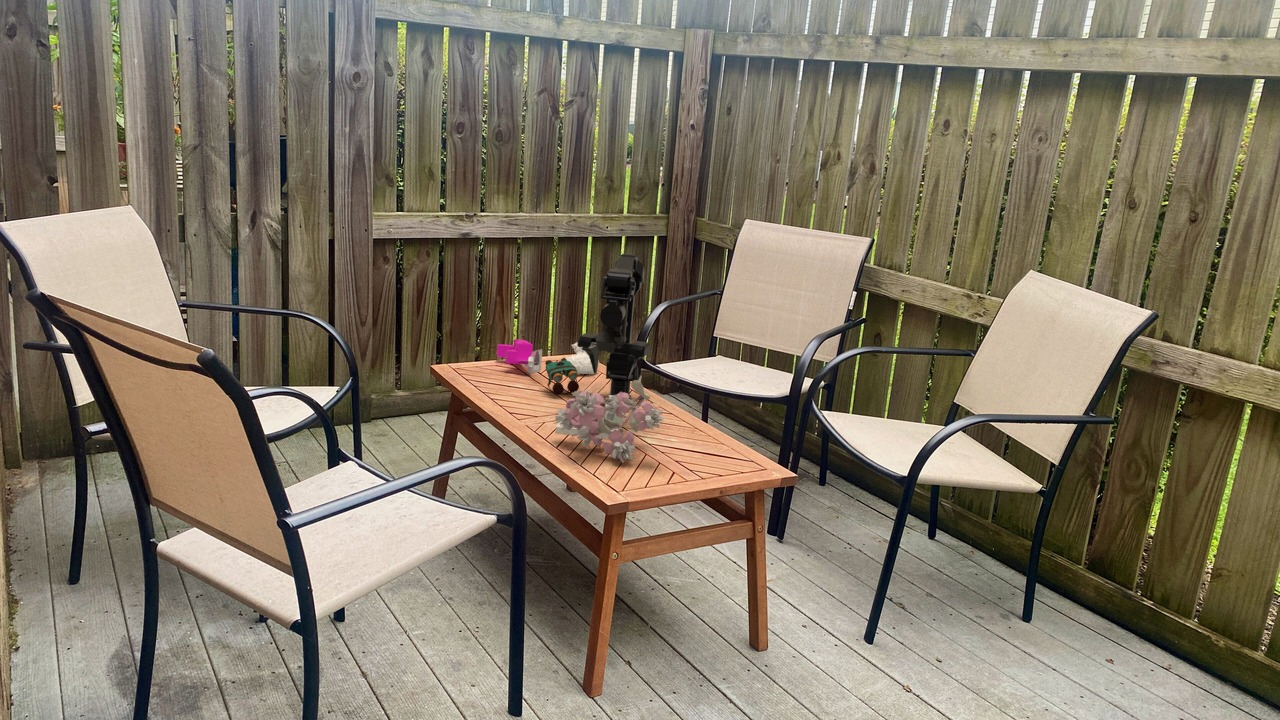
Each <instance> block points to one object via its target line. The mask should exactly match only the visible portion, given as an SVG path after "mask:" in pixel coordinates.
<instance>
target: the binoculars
mask: <svg viewBox="0 0 1280 720" xmlns="http://www.w3.org/2000/svg"><path fill="white" fill-rule="evenodd" d="M566 358H567V357H563V358H561V359H560V360H559V361H552V359H551V360H550V359H547V360H546V361H545V363H544V364H545V372H546V374H547V377H548V383H547V387H548V389H549V390H550V392H551V393H552V394H554V395H556V396H560V395H564V396H565V395H566V396H568V395H570V394H573V393H574V392H575V391H576V392H578V391H579V389H580V384H579V383H578V377H579V375H578V374H577V369H576V367H574V366H573V364H572V363H571V362H570V361H567V360H566ZM563 376H565V377H566V378H568V379H569V381H568V384H567V387H566V388H567V390H568V392H565V387H564V385H563V384H562V383H561V382H562V381H563ZM552 381H553V382H555V383H554V384H553V385H552V390H551V388H550V385H551V384H552Z"/></svg>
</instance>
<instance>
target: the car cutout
mask: <svg viewBox="0 0 1280 720" xmlns="http://www.w3.org/2000/svg"><path fill="white" fill-rule="evenodd" d="M542 356H543V349H542V348H541V349H537V350H532V352H531V356H530V357H529V358H528V361H520V362H528V364H523V366H524V368H527V369H526V370H527V372H526V373H527V375H532V374H535V373H536V374H537V373H540V372H541V371H542V361H543V360H542V359H543V357H542Z"/></svg>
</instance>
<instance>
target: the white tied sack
mask: <svg viewBox="0 0 1280 720" xmlns="http://www.w3.org/2000/svg"><path fill="white" fill-rule="evenodd" d="M571 348H572V349H573V351H574V352H575V354H574V355H573V354H572V355H570V356H568V357H565V358H566V360H567V361H570V362H571V363H572V364H573V366H574V367H576V369H577V374H578V376H581V375H580V374H589V375H588V376H590V374H591V375H595V373H594V371H593V368H592V364H591V361H590V358H589V356H588V354H587V353H586V351H584V350H582V348H583V347H578V346H577V342H575V343H574V344H571ZM599 363H600V361H599V359H598V365H599Z"/></svg>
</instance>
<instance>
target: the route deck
mask: <svg viewBox="0 0 1280 720" xmlns="http://www.w3.org/2000/svg"><path fill="white" fill-rule="evenodd" d="M581 392H583V390H578V391H577V393H578V394H579V393H581ZM614 396H616V395H614ZM575 398H576V397H575V396H574V399H575ZM575 402H577V401H576V400H575V401H574V402H573V403H575ZM606 406H608V405H607V404H606V403H605V407H606ZM564 410H566V408H565V409H564ZM608 412H609V411H606V414H605V415H606V417H607V420H610V421H614V422H617V423H619V424H621V423H622V422H623V421H624V420H625V417H623V418H620V417H618V416H616V413H614V414H610V413H608ZM621 413H622V412H621ZM622 414H623V415H625V416H626V413H625V414H624V413H622ZM579 415H580V414H579ZM561 422H562V421H561ZM561 422H559V423H556V426H555V434H561V435H567V436H568V435H569V436H572V435H574V436H576V437H577V436H580V435H582V433H577V432H578V430H577V428H575V427H574V426H573V427H572V428H571V429H570V430H568V429H566V428H565V429H563V430H561V428H562V426H563V425H562V424H561V425H562V426H561V425H560V423H561ZM587 427H588V428H589V426H587ZM614 430H618V429H613V430H611V431H614ZM576 434H580V435H576ZM609 435H610V434H607V433H600V434H599V435H595V437H597V438H600V439H602V440H609V441H611V440H610V439H609V438H608V436H609Z"/></svg>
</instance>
